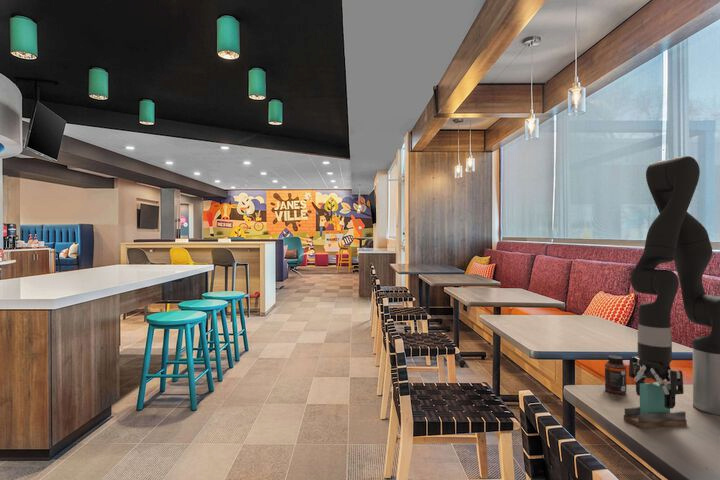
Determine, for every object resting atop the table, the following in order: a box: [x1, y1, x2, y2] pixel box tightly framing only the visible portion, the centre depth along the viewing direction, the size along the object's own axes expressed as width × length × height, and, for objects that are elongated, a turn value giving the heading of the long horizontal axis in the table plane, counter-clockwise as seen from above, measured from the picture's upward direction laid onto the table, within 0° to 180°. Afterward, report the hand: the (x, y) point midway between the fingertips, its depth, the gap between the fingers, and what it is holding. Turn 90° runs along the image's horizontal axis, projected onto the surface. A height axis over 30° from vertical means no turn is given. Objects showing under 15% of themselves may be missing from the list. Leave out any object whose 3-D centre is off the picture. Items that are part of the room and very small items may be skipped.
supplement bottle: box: [604, 354, 628, 395], centre depth 129 cm, size 6×6×11 cm
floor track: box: [623, 406, 688, 429], centre depth 108 cm, size 14×6×3 cm, turn 99°
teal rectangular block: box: [639, 381, 671, 415], centre depth 108 cm, size 7×2×9 cm, turn 99°
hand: (654, 401), depth 108 cm, fingers open, 8 cm apart
